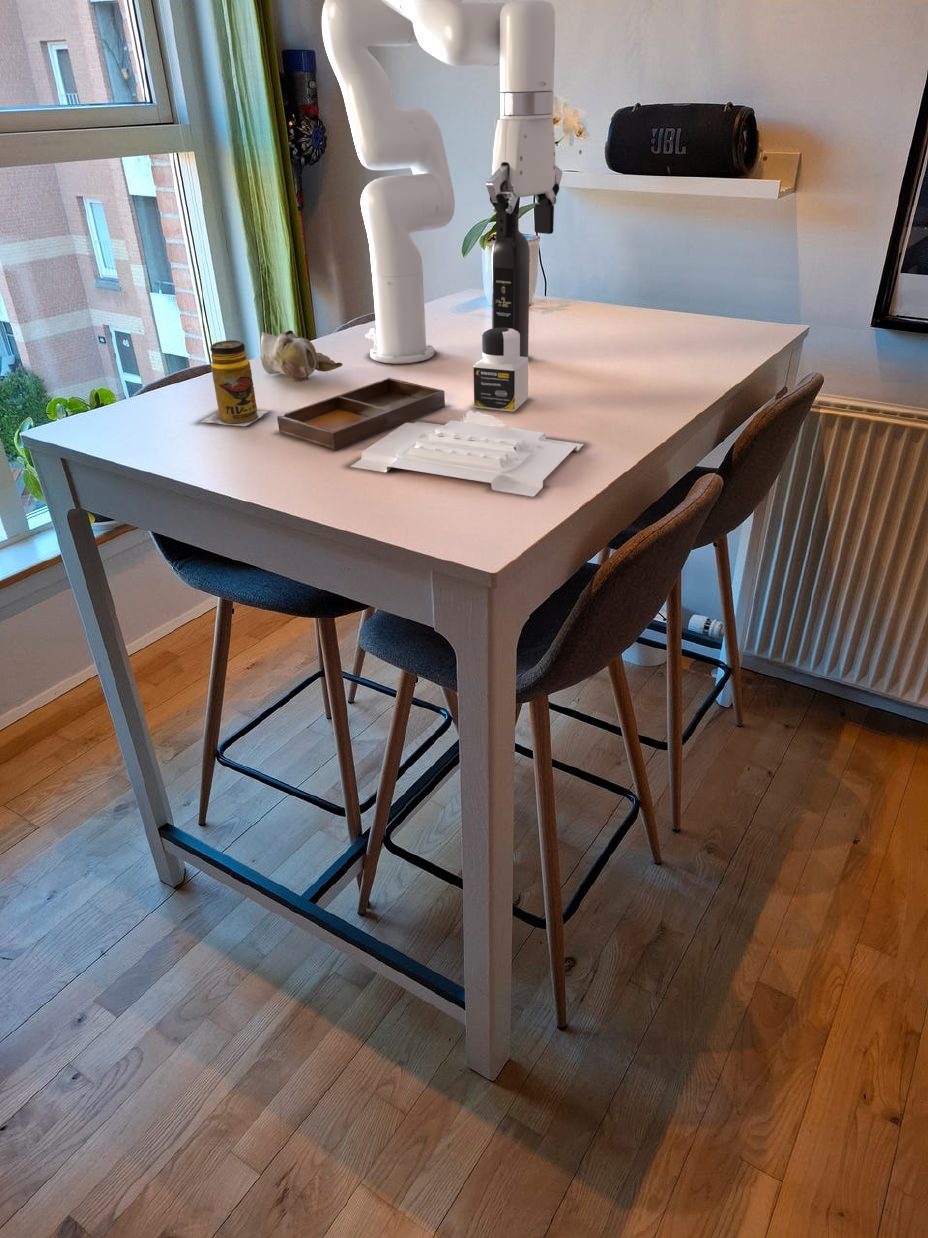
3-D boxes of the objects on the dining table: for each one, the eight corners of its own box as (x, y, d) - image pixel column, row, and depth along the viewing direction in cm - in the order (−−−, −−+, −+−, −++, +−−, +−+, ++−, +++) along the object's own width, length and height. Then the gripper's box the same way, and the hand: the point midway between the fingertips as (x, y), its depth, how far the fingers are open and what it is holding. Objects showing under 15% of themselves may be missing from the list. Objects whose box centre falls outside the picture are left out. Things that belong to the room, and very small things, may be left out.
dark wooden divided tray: (279, 432, 138) (276, 416, 136) (390, 392, 154) (389, 377, 152) (335, 450, 131) (333, 432, 129) (445, 406, 147) (444, 390, 145)
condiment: (246, 427, 140) (234, 350, 134) (200, 422, 143) (186, 347, 136) (268, 412, 146) (258, 338, 140) (223, 408, 149) (211, 335, 142)
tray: (534, 496, 115) (534, 469, 113) (350, 474, 126) (346, 449, 124) (584, 443, 130) (584, 419, 128) (416, 427, 141) (414, 404, 139)
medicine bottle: (473, 408, 146) (471, 333, 139) (488, 395, 151) (487, 323, 145) (514, 412, 143) (514, 337, 137) (528, 399, 149) (529, 326, 142)
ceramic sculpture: (281, 317, 165) (343, 331, 159) (286, 362, 170) (345, 378, 164) (240, 330, 158) (302, 346, 151) (245, 377, 163) (306, 395, 156)
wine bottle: (516, 364, 166) (518, 188, 151) (490, 361, 169) (488, 187, 153) (530, 357, 170) (532, 184, 155) (504, 353, 173) (504, 183, 157)
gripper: (540, 104, 133) (538, 227, 142) (467, 109, 121) (470, 243, 130) (582, 104, 129) (577, 231, 138) (511, 109, 117) (510, 247, 126)
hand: (525, 237), depth 134 cm, fingers open, 9 cm apart
